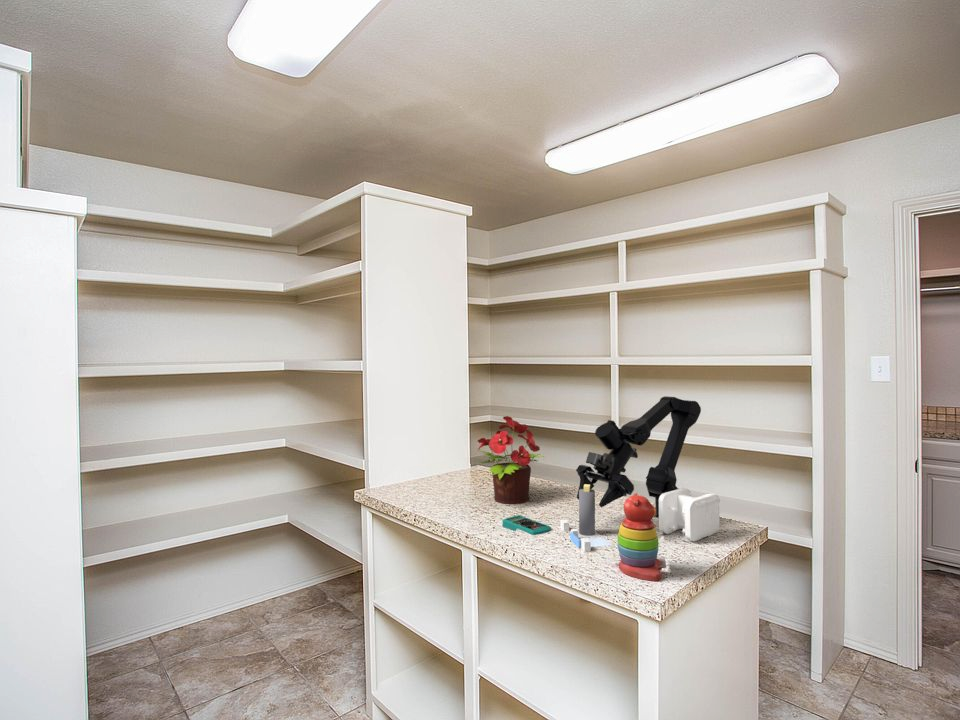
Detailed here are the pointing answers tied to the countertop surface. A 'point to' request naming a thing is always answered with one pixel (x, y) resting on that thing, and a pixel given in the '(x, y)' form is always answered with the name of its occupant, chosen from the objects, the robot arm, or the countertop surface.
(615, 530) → the countertop surface
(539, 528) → the digital multimeter
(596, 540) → the board
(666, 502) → the cable organizer
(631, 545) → the stacking bear
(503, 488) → the potted plant
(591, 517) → the grey cylinder
